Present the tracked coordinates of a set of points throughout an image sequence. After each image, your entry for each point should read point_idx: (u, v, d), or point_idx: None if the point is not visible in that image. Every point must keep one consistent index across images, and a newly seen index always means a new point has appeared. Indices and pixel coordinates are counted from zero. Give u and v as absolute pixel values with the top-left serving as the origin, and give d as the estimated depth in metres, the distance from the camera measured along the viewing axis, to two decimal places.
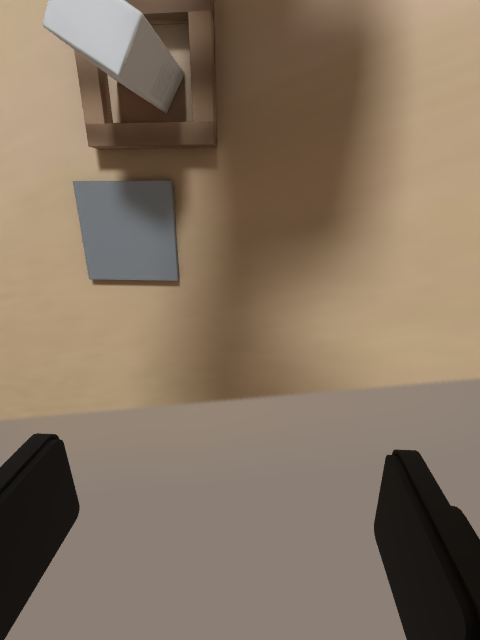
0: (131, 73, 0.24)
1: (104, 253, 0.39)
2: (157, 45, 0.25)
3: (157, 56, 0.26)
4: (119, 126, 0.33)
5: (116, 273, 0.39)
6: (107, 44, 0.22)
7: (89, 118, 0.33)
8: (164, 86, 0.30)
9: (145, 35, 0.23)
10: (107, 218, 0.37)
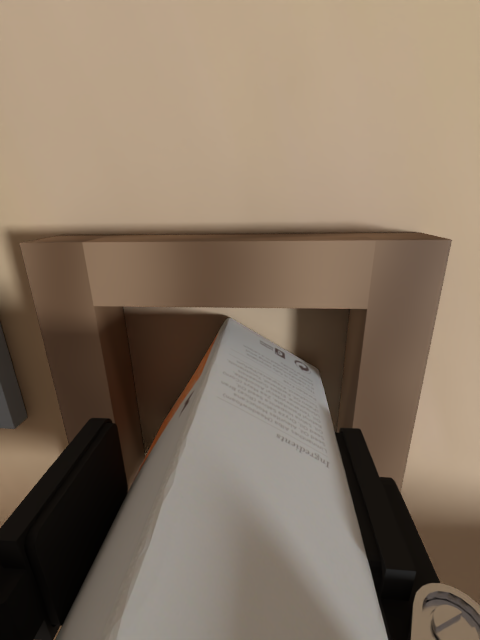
0: None
1: None
2: None
3: None
4: (93, 349, 0.11)
5: None
6: None
7: (100, 259, 0.10)
8: None
9: None
10: None
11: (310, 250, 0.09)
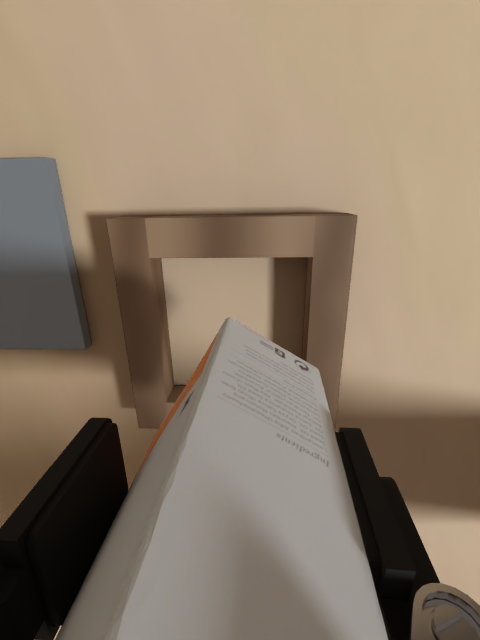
0: None
1: None
2: None
3: None
4: (147, 286, 0.18)
5: None
6: None
7: (154, 228, 0.17)
8: None
9: None
10: None
11: (278, 222, 0.16)
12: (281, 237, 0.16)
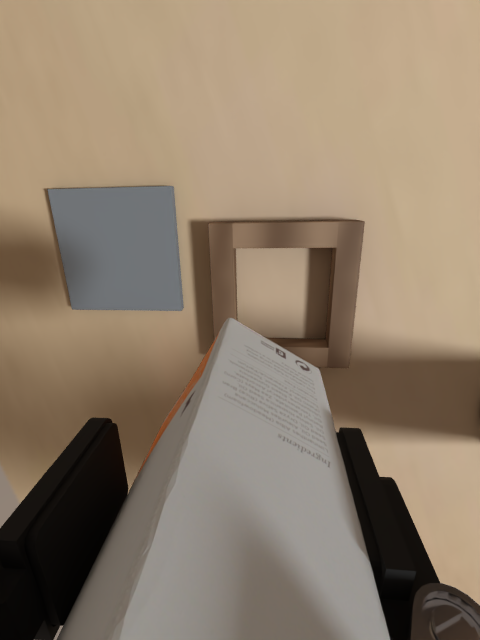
0: None
1: (86, 217, 0.29)
2: None
3: None
4: (230, 266, 0.28)
5: (64, 230, 0.30)
6: None
7: (238, 230, 0.27)
8: None
9: None
10: (131, 228, 0.29)
11: (315, 225, 0.26)
12: (317, 235, 0.27)
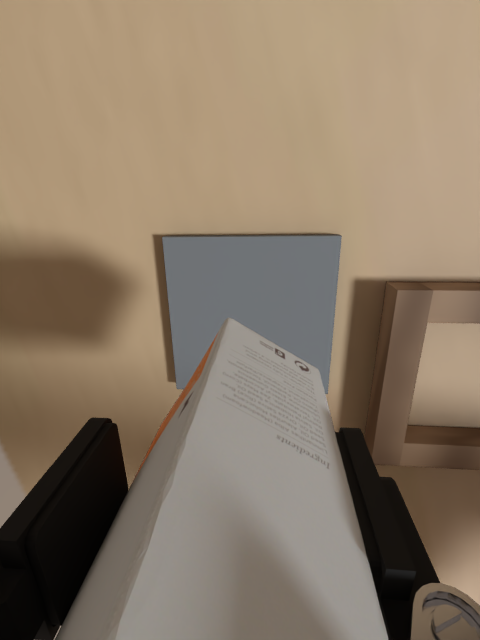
0: None
1: (213, 275, 0.21)
2: None
3: None
4: (417, 345, 0.20)
5: (179, 291, 0.22)
6: None
7: (440, 299, 0.19)
8: None
9: None
10: (274, 290, 0.21)
11: None
12: None
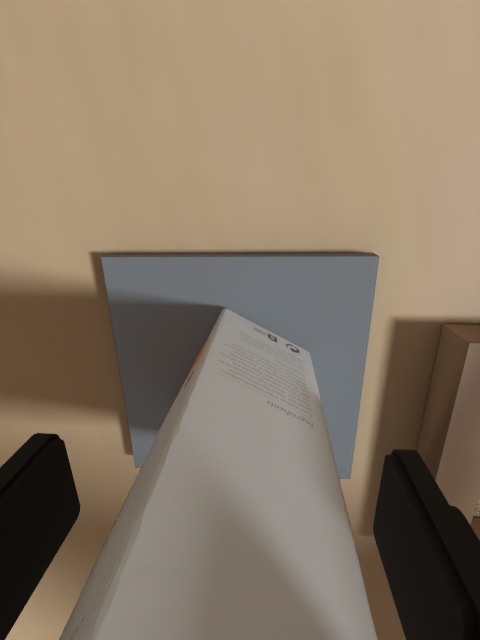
0: None
1: (181, 314, 0.14)
2: None
3: None
4: None
5: (131, 336, 0.15)
6: None
7: None
8: None
9: None
10: None
11: None
12: None
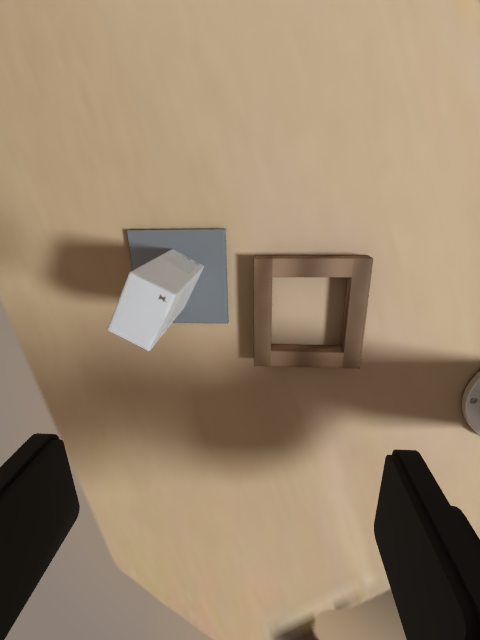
0: None
1: (156, 252, 0.37)
2: None
3: None
4: (269, 290, 0.37)
5: (137, 261, 0.38)
6: (125, 325, 0.28)
7: (276, 263, 0.35)
8: None
9: None
10: None
11: (336, 261, 0.35)
12: (337, 268, 0.35)
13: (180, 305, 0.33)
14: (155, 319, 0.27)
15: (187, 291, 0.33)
